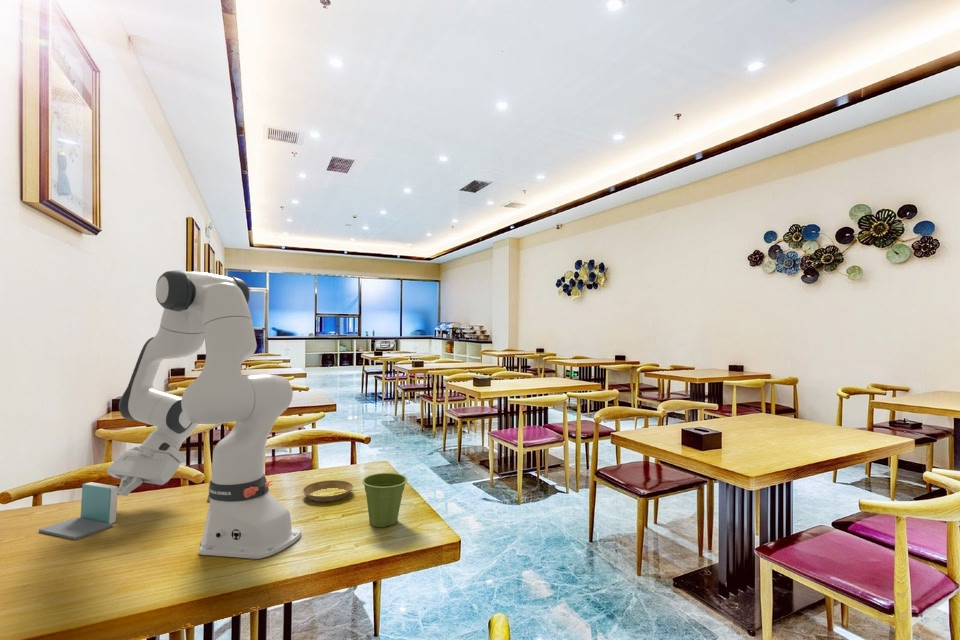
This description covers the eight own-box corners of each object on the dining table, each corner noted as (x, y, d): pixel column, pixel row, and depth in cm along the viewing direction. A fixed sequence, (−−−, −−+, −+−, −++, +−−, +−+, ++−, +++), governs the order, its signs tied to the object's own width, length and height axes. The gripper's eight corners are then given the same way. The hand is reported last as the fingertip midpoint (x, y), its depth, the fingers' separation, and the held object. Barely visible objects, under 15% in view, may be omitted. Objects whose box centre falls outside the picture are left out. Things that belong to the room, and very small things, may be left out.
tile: (115, 521, 115) (117, 486, 116) (107, 524, 113) (109, 488, 114) (89, 516, 118) (91, 482, 119) (80, 519, 116) (82, 484, 117)
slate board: (112, 526, 112) (112, 524, 112) (75, 540, 104) (75, 537, 105) (76, 519, 116) (77, 517, 116) (38, 531, 108) (38, 529, 108)
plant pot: (359, 533, 111) (360, 487, 111) (362, 514, 123) (363, 473, 123) (407, 530, 113) (408, 485, 114) (405, 512, 125) (406, 471, 125)
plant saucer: (361, 490, 143) (361, 482, 143) (336, 507, 128) (337, 498, 128) (320, 486, 146) (320, 478, 146) (291, 502, 132) (292, 493, 132)
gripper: (124, 440, 132) (85, 484, 122) (176, 446, 126) (139, 493, 116) (139, 452, 136) (102, 495, 126) (190, 458, 130) (155, 504, 120)
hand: (120, 494), depth 121 cm, fingers closed
